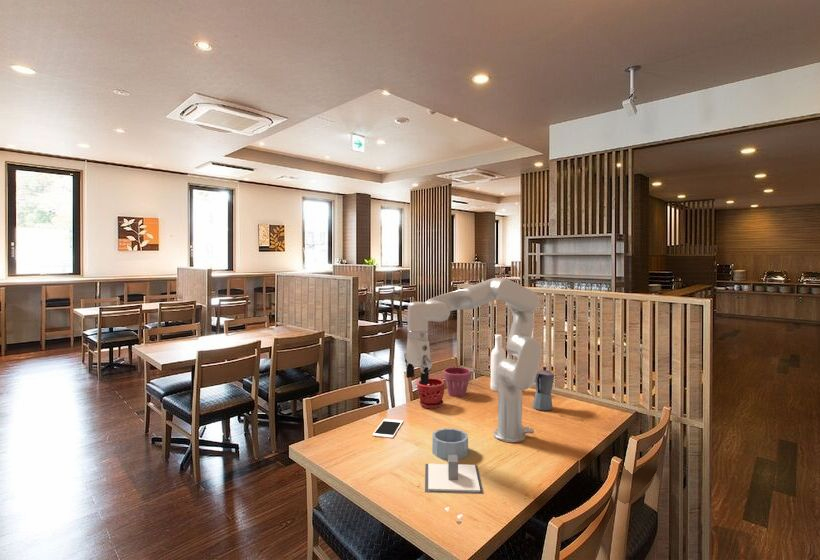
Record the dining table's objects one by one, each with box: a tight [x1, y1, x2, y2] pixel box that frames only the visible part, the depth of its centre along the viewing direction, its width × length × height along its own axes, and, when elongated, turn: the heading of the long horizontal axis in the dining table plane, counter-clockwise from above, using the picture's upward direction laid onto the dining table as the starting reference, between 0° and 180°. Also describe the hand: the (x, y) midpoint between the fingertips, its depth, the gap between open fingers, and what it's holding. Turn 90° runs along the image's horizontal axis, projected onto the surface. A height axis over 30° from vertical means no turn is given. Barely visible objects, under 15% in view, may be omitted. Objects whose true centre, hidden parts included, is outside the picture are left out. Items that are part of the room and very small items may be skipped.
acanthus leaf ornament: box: [444, 506, 463, 526], centre depth 123 cm, size 8×7×2 cm
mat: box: [424, 463, 484, 495], centre depth 141 cm, size 18×18×1 cm
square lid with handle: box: [427, 455, 480, 492], centre depth 141 cm, size 16×16×7 cm
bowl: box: [431, 427, 469, 461], centre depth 160 cm, size 13×13×7 cm
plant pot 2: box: [443, 366, 472, 398], centre depth 228 cm, size 14×14×13 cm
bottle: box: [489, 334, 507, 392], centre depth 237 cm, size 8×8×30 cm
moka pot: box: [532, 366, 555, 412], centre depth 207 cm, size 10×15×20 cm, turn 148°
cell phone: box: [371, 418, 404, 439], centre depth 183 cm, size 9×18×1 cm, turn 167°
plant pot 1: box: [416, 377, 445, 410], centre depth 211 cm, size 13×13×12 cm
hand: (417, 380), depth 162 cm, fingers open, 9 cm apart
